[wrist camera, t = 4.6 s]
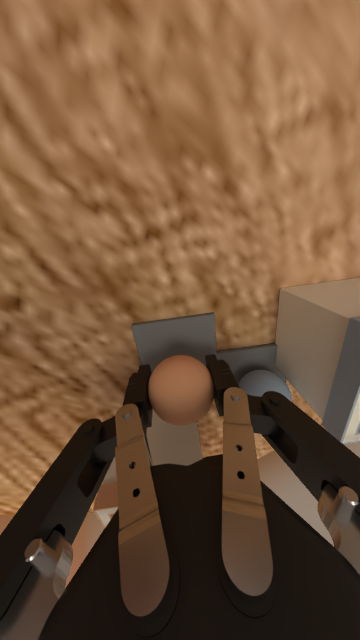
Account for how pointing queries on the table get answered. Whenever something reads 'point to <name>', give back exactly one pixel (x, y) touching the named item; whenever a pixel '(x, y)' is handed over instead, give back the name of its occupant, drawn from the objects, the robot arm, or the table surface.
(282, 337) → the tube slate rim
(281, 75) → the table surface
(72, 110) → the table surface
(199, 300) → the table surface
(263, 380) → the ball slate
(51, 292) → the table surface
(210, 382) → the ball terracotta
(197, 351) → the coasters
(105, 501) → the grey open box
